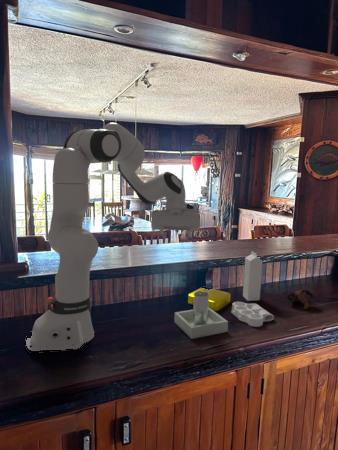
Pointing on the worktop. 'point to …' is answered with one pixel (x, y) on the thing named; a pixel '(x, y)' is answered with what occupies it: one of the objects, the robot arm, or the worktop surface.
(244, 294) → the milk
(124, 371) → the worktop surface
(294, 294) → the turtle figurine
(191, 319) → the sage bin
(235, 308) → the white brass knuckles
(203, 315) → the gray flashlight
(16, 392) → the worktop surface
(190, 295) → the element tile
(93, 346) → the worktop surface
